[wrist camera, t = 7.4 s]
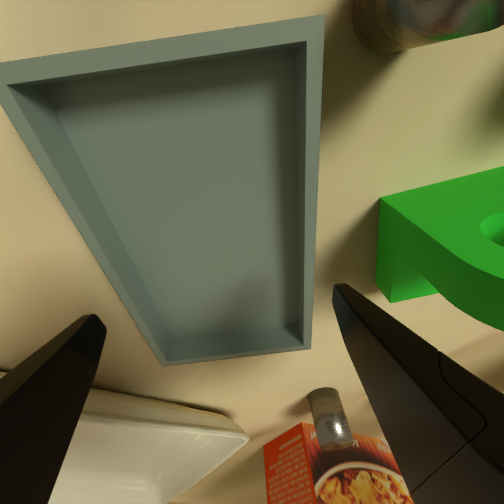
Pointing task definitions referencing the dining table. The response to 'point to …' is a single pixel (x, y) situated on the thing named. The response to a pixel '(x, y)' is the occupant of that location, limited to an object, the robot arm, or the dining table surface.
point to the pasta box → (331, 471)
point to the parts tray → (189, 178)
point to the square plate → (141, 450)
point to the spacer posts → (387, 41)
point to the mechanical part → (446, 244)
